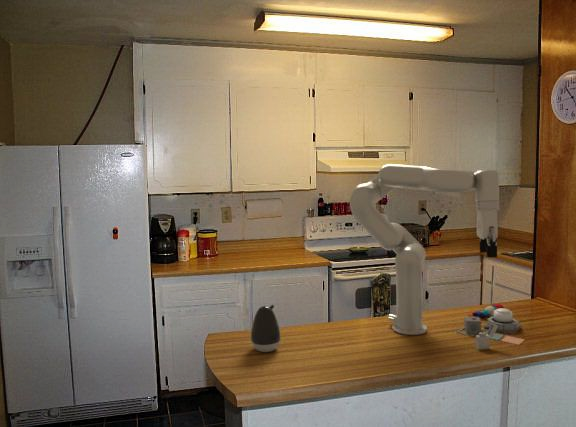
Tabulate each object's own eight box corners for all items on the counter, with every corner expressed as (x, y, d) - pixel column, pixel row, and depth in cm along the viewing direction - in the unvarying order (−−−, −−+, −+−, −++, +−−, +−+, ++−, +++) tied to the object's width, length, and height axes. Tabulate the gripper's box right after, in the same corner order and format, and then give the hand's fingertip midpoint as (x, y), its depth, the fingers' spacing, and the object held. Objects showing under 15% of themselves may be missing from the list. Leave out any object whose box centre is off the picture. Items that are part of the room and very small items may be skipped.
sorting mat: (456, 332, 178) (456, 331, 178) (465, 326, 185) (465, 326, 185) (517, 346, 164) (517, 345, 164) (525, 339, 170) (525, 338, 170)
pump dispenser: (286, 346, 169) (285, 304, 167) (270, 357, 160) (269, 312, 158) (262, 342, 174) (260, 300, 172) (245, 351, 165) (243, 308, 164)
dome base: (484, 328, 182) (484, 321, 181) (494, 322, 189) (494, 314, 189) (512, 334, 175) (512, 326, 175) (521, 327, 182) (521, 319, 182)
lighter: (478, 349, 162) (478, 326, 161) (475, 347, 164) (475, 324, 163) (497, 347, 163) (498, 324, 162) (494, 345, 165) (494, 322, 164)
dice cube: (481, 334, 176) (481, 321, 175) (466, 334, 177) (466, 320, 176) (478, 330, 181) (478, 317, 180) (464, 329, 182) (464, 316, 181)
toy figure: (479, 325, 190) (510, 315, 195) (477, 313, 190) (508, 303, 194) (467, 321, 198) (497, 311, 202) (465, 309, 197) (495, 299, 202)
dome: (491, 319, 181) (491, 310, 181) (497, 315, 186) (497, 306, 186) (508, 323, 177) (509, 313, 177) (514, 318, 182) (515, 309, 181)
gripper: (470, 204, 177) (471, 250, 178) (482, 208, 160) (483, 259, 161) (491, 203, 176) (492, 250, 177) (506, 207, 159) (507, 259, 160)
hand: (488, 254), depth 169 cm, fingers open, 9 cm apart
